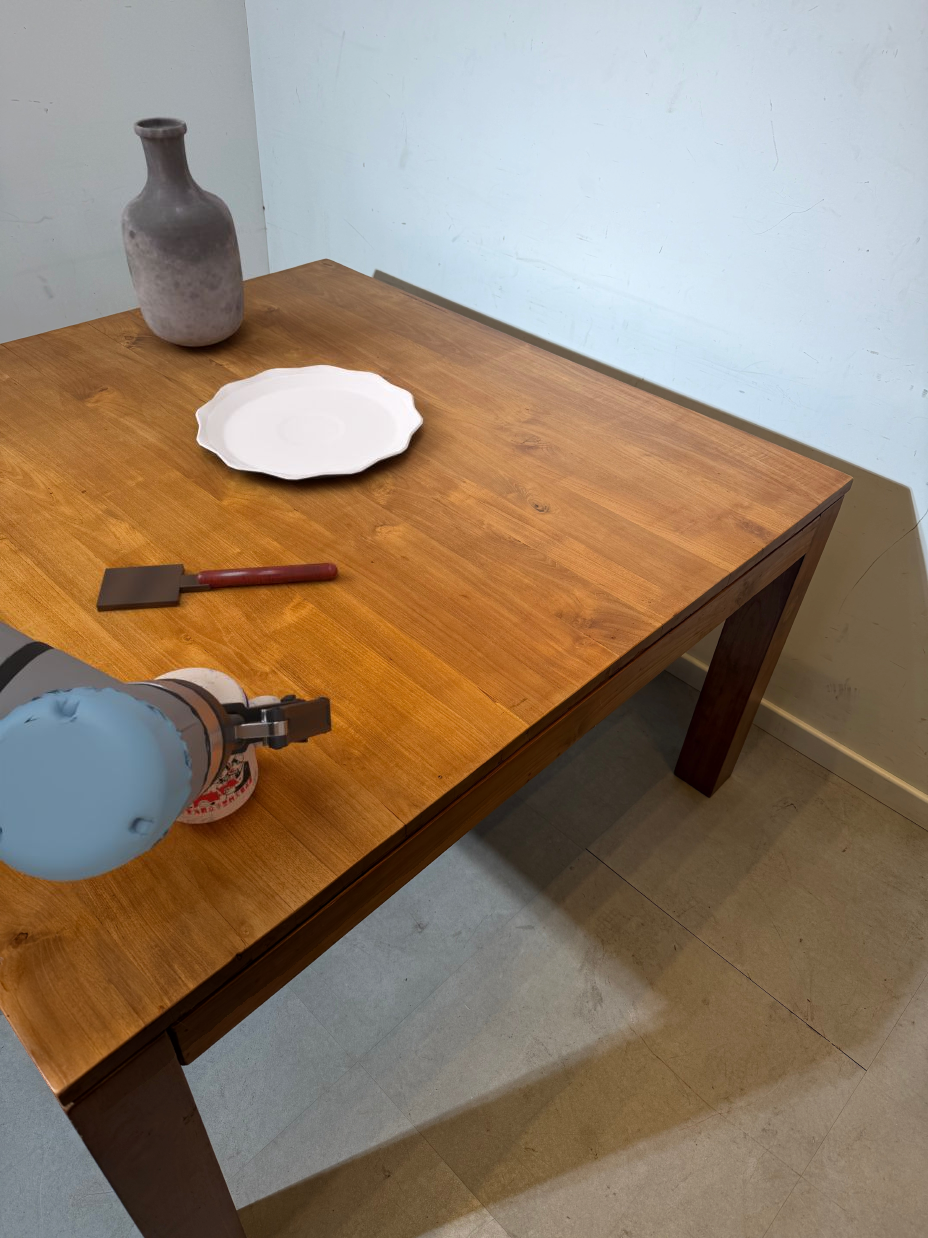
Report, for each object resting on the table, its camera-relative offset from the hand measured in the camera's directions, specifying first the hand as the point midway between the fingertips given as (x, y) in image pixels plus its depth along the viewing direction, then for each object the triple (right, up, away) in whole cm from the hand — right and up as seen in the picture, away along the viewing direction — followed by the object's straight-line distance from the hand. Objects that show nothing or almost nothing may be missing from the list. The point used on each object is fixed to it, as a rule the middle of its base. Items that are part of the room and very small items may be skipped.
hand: (215, 717), depth 68 cm
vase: (-21, +52, +63) cm, 85 cm away
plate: (0, +33, +44) cm, 55 cm away
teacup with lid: (0, -5, +1) cm, 5 cm away
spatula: (-5, +12, +20) cm, 24 cm away
